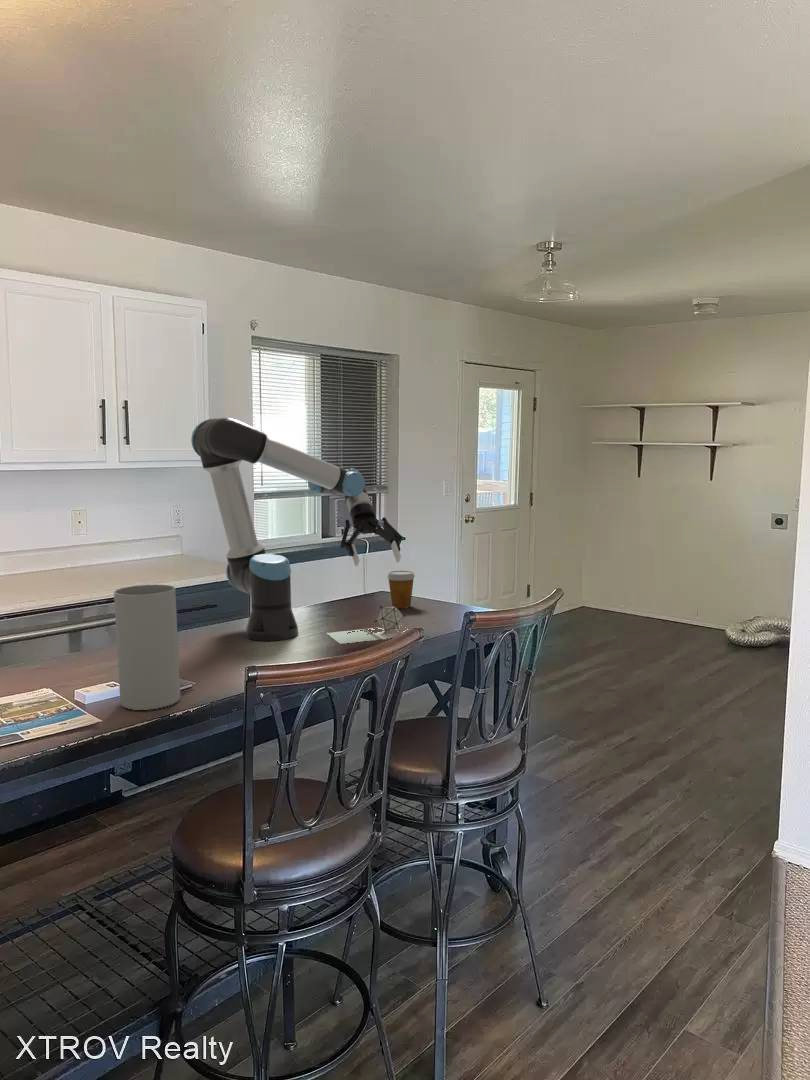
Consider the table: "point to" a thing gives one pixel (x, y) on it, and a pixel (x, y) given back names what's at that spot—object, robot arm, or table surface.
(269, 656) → the table surface
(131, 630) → the cylinder vase
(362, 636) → the game board
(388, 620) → the game die
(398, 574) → the disposable coffee cup
